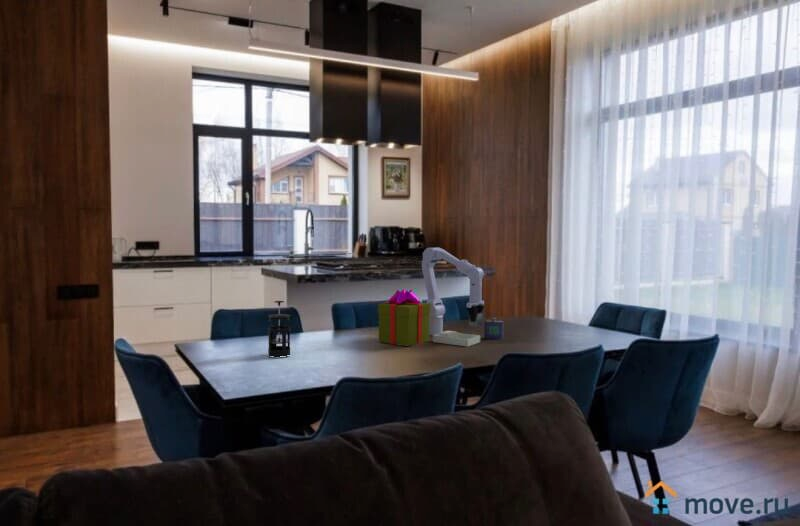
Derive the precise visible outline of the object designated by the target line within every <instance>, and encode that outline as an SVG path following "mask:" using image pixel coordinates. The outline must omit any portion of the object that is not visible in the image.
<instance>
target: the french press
mask: <svg viewBox="0 0 800 526" xmlns="http://www.w3.org/2000/svg"><path fill="white" fill-rule="evenodd" d="M273 302H274V303H275V304H277V306H278V313H276V314H275V313H274V314H268V319H269V321H268V322H271V323H277V322H278V325H270V326H268V327H267V328H268V329H267V330H268V352H267V353H268V354H267V356H268V355H269V356H274V357H280V356H287V355H290V354H291V342H290V341H291V339H290V338H291V336H290V335H291V326H290V325H280V324H281V320H284V321H285V320H287V321H289V322H290V317H291V314H286V313H281V311H280V310H281V309H280V306H281V303H285V301H284V300H275V301H273ZM277 334H278V335H277ZM277 337H278V338H277Z"/></svg>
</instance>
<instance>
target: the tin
mask: <svg viewBox="0 0 800 526" xmlns="http://www.w3.org/2000/svg"><path fill="white" fill-rule="evenodd" d="M482 314H483V312H482V313H479V312H477V313H476V320H475V322H471V321H470V317H469V316H468V321H469V322H468V326H470V327H481V326H482V325H483V324H482V319H483V318H482V317H483V315H482Z"/></svg>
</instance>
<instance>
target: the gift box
mask: <svg viewBox="0 0 800 526" xmlns="http://www.w3.org/2000/svg"><path fill="white" fill-rule="evenodd" d="M418 298H419V297H417V296H416V295H415V294H414V293H413V289H410V290H409V291H408V290H406V289H405V288H403V289H402V290H398V289H396V291H395V293H394V294H392V296H391V297H390V298H389V299H388V301H385V302H383V301H382V302H381V303H378V304H377V307H378V308H377V313H378V342H379V343H386V344H390V345H393V344H394V345H395V344H398V345H399V346H406V347H410V346H414V345H420V344H421V343H424V342H427V341H430V335H429V315H430V303H427V302H421V300H419V299H418ZM394 345H393V346H394ZM395 346H396V345H395Z"/></svg>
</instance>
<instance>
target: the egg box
mask: <svg viewBox="0 0 800 526" xmlns="http://www.w3.org/2000/svg"><path fill="white" fill-rule="evenodd" d="M457 333H458V331H455V330H444V331H443V332H441V333H439V336H444V337H452V338H457Z"/></svg>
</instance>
